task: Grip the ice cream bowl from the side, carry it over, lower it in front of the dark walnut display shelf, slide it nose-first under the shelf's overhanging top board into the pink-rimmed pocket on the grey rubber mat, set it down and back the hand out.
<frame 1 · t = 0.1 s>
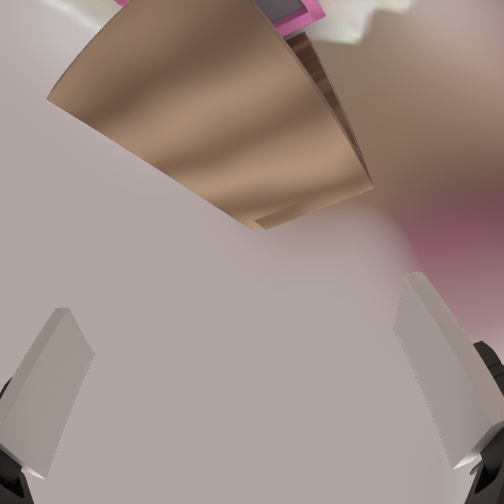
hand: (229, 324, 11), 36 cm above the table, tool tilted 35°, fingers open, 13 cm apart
display shelf: (232, 48, 23), in the seat plate
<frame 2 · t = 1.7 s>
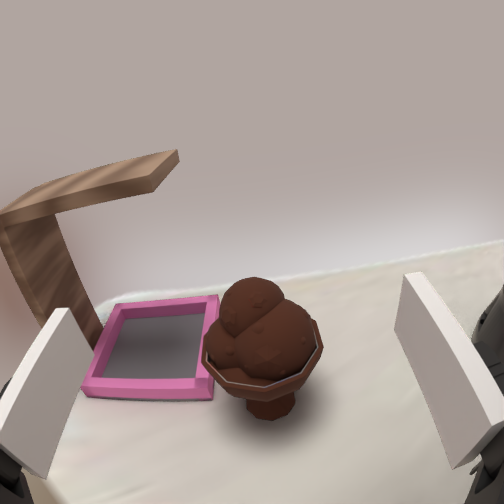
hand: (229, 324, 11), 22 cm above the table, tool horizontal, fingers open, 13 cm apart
ice cream bowl: (270, 400, 32), on the table
seat plate: (157, 351, 41), on the table
display shelf: (110, 277, 35), in the seat plate
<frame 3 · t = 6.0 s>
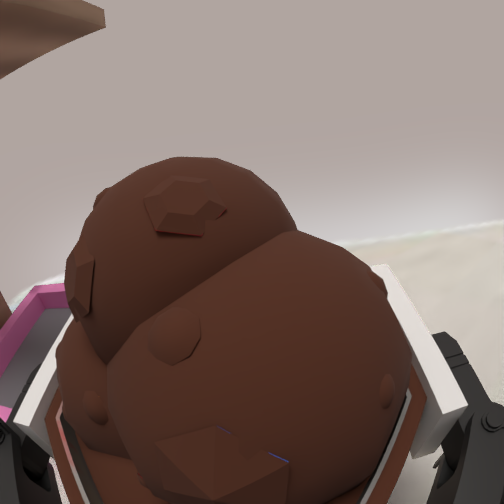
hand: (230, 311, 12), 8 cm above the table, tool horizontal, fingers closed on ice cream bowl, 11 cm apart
ice cream bowl: (257, 485, 13), on the table, touching gripper
seat plate: (70, 363, 21), on the table
when the fingers open (10 cm above the table, at t = 13.9 s): ice cream bowl stays where it is, resting on seat plate.
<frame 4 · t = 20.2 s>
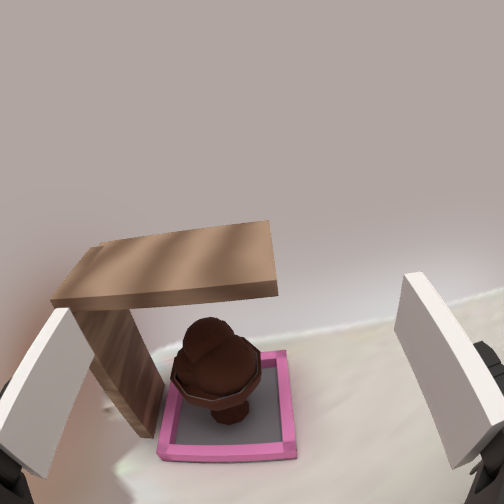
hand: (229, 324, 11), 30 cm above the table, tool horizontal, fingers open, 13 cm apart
ice cream bowl: (230, 409, 40), resting on seat plate
seat plate: (229, 409, 40), on the table
display shelf: (191, 350, 35), in the seat plate
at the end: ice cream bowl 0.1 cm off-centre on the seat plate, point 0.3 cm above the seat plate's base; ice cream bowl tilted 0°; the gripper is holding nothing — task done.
